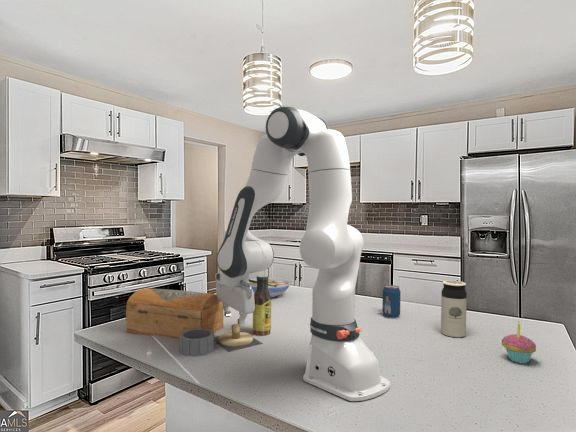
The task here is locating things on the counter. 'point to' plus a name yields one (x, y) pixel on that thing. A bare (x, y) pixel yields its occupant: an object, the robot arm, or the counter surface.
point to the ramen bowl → (272, 285)
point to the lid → (235, 338)
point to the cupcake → (518, 347)
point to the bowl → (196, 342)
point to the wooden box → (172, 312)
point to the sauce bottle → (262, 307)
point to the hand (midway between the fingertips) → (234, 320)
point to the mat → (254, 343)
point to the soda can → (391, 301)
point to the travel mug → (453, 309)
